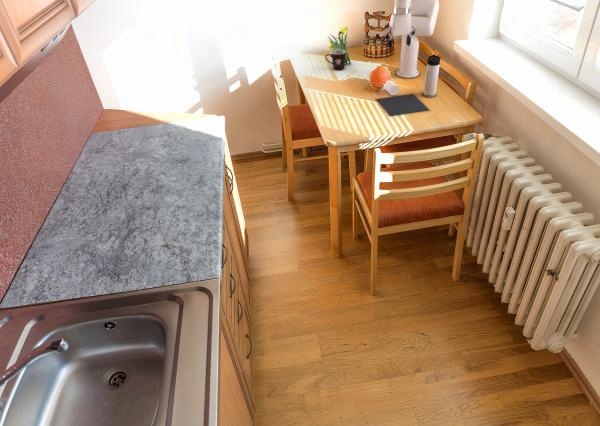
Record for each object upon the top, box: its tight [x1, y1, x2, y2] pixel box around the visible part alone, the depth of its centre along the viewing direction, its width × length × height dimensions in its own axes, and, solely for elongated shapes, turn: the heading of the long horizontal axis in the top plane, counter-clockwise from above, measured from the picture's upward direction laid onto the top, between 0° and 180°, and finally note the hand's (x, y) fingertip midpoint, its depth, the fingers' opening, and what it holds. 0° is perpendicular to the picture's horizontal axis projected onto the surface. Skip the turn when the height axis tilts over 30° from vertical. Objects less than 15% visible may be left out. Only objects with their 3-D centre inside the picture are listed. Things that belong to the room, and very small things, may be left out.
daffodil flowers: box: [326, 21, 352, 66], centre depth 284 cm, size 17×15×35 cm
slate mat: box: [376, 93, 430, 117], centre depth 229 cm, size 20×20×1 cm
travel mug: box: [423, 54, 441, 98], centre depth 230 cm, size 6×7×20 cm
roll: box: [383, 79, 400, 96], centre depth 241 cm, size 6×12×6 cm, turn 13°
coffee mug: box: [325, 49, 346, 71], centre depth 270 cm, size 12×9×10 cm
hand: (398, 46), depth 225 cm, fingers open, 9 cm apart
